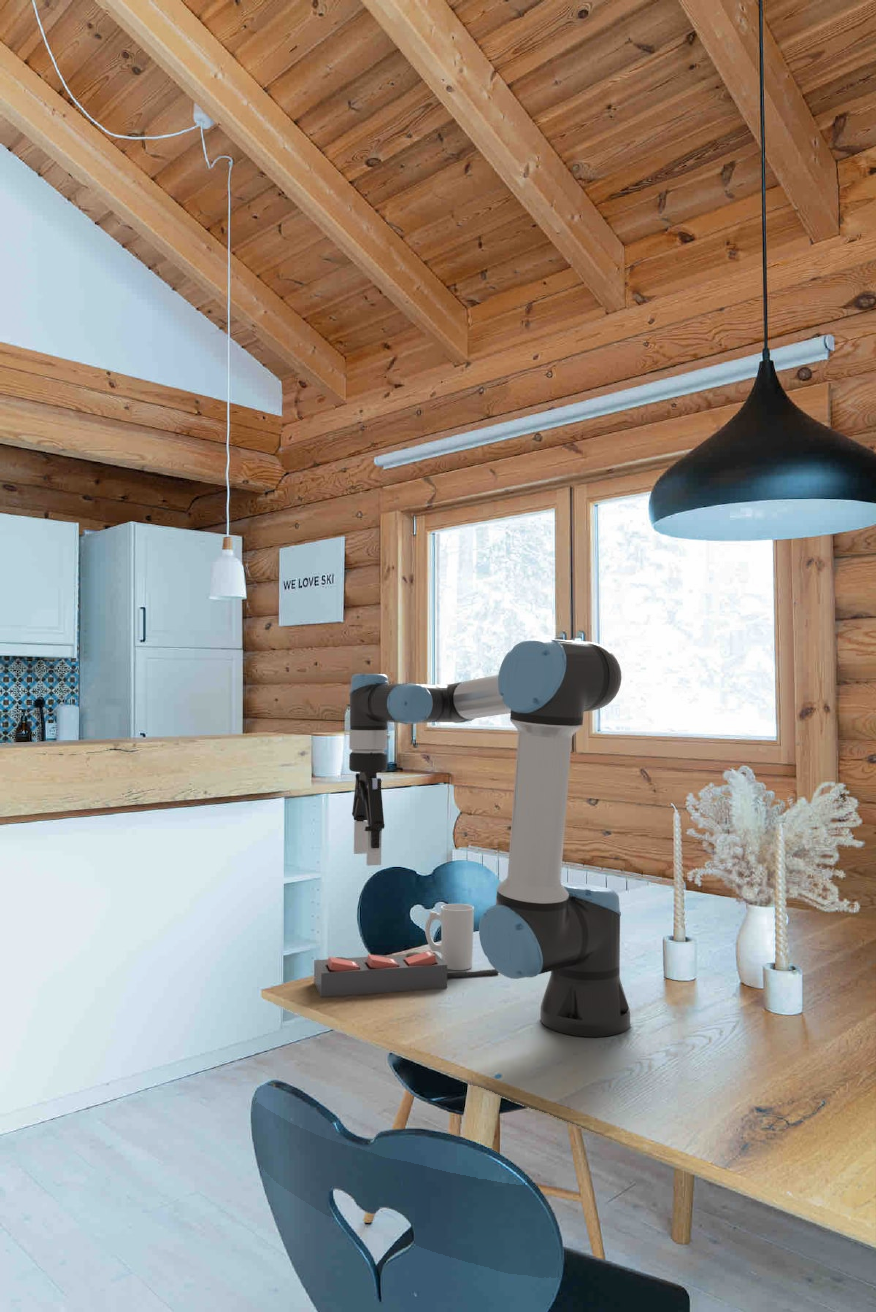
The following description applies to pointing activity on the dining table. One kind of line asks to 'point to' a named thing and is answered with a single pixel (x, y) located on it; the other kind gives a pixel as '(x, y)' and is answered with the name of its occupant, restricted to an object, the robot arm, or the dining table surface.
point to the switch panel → (385, 976)
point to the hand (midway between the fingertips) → (366, 859)
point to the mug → (454, 935)
